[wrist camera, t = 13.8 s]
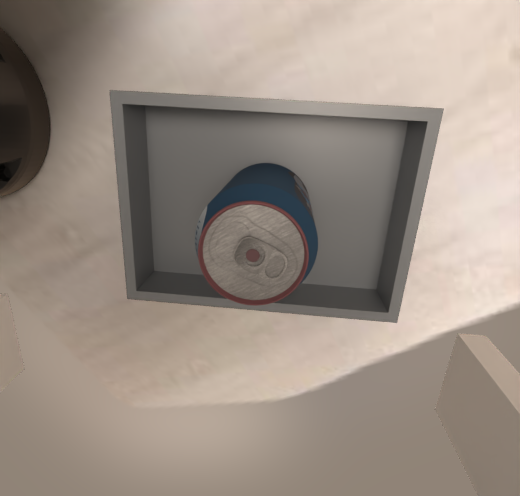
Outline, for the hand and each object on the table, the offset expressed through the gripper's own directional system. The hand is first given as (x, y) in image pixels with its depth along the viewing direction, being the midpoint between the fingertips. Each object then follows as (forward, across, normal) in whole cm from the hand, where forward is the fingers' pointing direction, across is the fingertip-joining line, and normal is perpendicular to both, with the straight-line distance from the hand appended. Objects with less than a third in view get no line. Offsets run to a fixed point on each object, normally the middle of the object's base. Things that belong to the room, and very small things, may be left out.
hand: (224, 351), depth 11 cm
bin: (+21, 0, 0) cm, 21 cm away
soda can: (+20, 0, 0) cm, 20 cm away
